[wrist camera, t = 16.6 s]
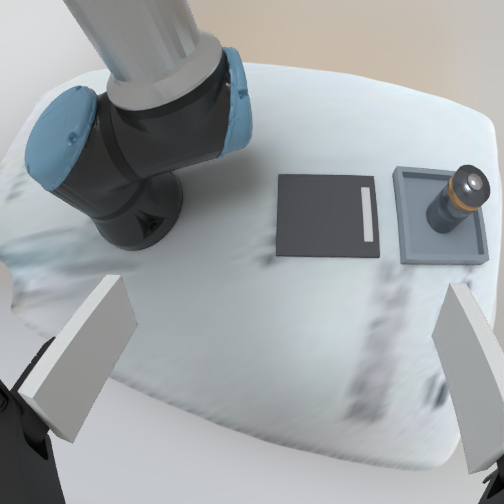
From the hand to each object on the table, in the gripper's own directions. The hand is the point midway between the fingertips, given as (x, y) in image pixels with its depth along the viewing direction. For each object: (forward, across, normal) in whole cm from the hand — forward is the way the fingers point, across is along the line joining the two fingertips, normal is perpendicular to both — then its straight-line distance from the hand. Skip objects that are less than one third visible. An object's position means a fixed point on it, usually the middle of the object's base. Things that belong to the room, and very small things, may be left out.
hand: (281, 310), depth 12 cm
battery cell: (+31, +21, -9) cm, 39 cm away
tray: (+32, +21, -10) cm, 40 cm away
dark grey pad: (+32, +4, -10) cm, 34 cm away
